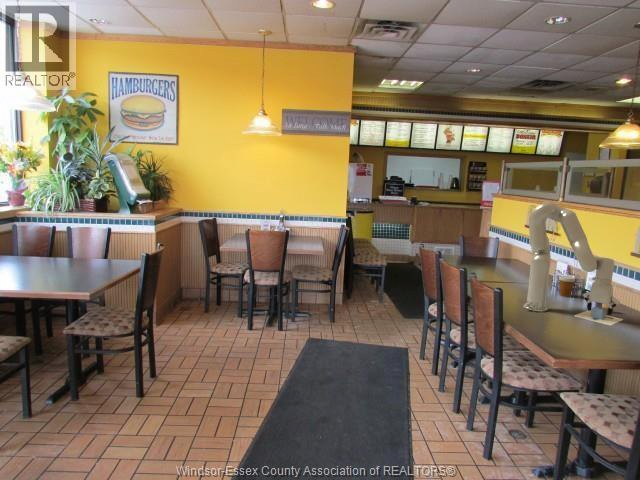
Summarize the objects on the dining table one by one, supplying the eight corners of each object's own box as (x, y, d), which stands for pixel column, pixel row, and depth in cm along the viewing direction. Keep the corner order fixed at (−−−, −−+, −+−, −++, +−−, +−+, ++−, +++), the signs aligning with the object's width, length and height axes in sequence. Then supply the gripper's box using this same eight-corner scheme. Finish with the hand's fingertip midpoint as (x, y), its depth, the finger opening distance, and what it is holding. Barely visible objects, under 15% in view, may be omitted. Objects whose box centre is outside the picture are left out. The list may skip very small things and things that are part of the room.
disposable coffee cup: (567, 298, 280) (569, 279, 278) (553, 294, 289) (555, 276, 287) (576, 296, 285) (579, 278, 283) (562, 292, 293) (565, 274, 291)
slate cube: (601, 319, 237) (602, 310, 237) (591, 317, 241) (592, 308, 241) (605, 318, 240) (606, 308, 240) (595, 315, 244) (596, 306, 244)
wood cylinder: (610, 314, 250) (612, 303, 249) (599, 311, 254) (601, 301, 253) (614, 312, 253) (616, 302, 252) (603, 310, 257) (605, 299, 256)
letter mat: (610, 326, 228) (610, 325, 228) (573, 316, 242) (573, 315, 242) (623, 320, 239) (623, 319, 239) (587, 311, 253) (587, 310, 253)
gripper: (582, 278, 242) (578, 309, 245) (618, 285, 229) (614, 318, 231) (588, 277, 247) (584, 307, 249) (624, 284, 233) (619, 315, 236)
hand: (598, 312), depth 240 cm, fingers open, 9 cm apart
